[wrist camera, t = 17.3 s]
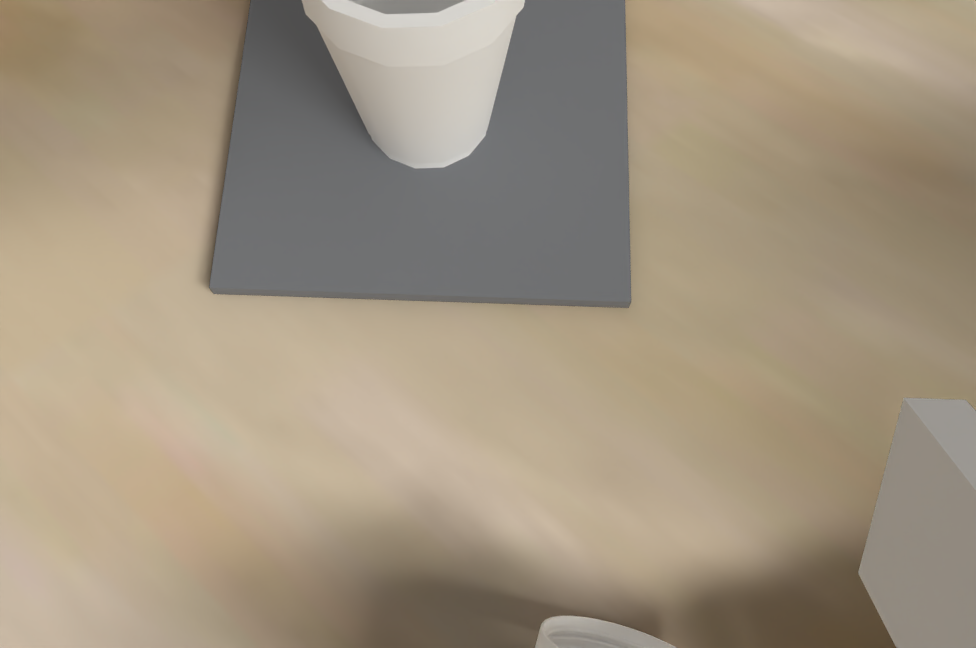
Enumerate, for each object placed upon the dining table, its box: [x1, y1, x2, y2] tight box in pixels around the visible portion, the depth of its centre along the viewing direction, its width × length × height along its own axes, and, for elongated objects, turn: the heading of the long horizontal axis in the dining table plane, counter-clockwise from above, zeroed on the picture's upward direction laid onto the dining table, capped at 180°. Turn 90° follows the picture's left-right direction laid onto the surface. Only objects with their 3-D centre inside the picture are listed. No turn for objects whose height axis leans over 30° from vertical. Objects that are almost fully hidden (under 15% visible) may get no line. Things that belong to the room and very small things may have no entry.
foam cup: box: [302, 0, 525, 169], centre depth 41 cm, size 10×9×13 cm
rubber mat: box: [209, 0, 631, 308], centre depth 47 cm, size 20×20×1 cm
